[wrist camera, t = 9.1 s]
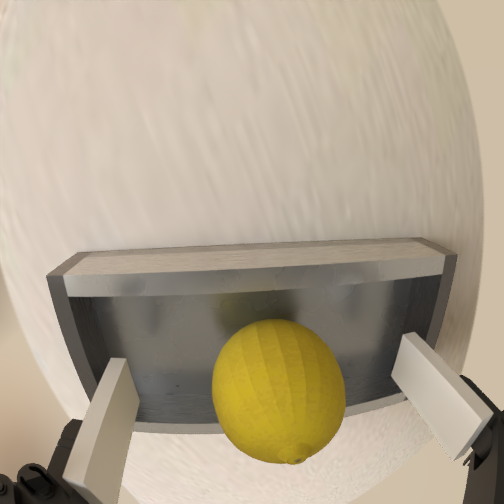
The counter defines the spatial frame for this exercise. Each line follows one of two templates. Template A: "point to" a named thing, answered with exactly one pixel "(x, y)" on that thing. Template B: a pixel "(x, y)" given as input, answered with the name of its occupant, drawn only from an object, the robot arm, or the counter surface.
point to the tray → (246, 314)
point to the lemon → (278, 391)
